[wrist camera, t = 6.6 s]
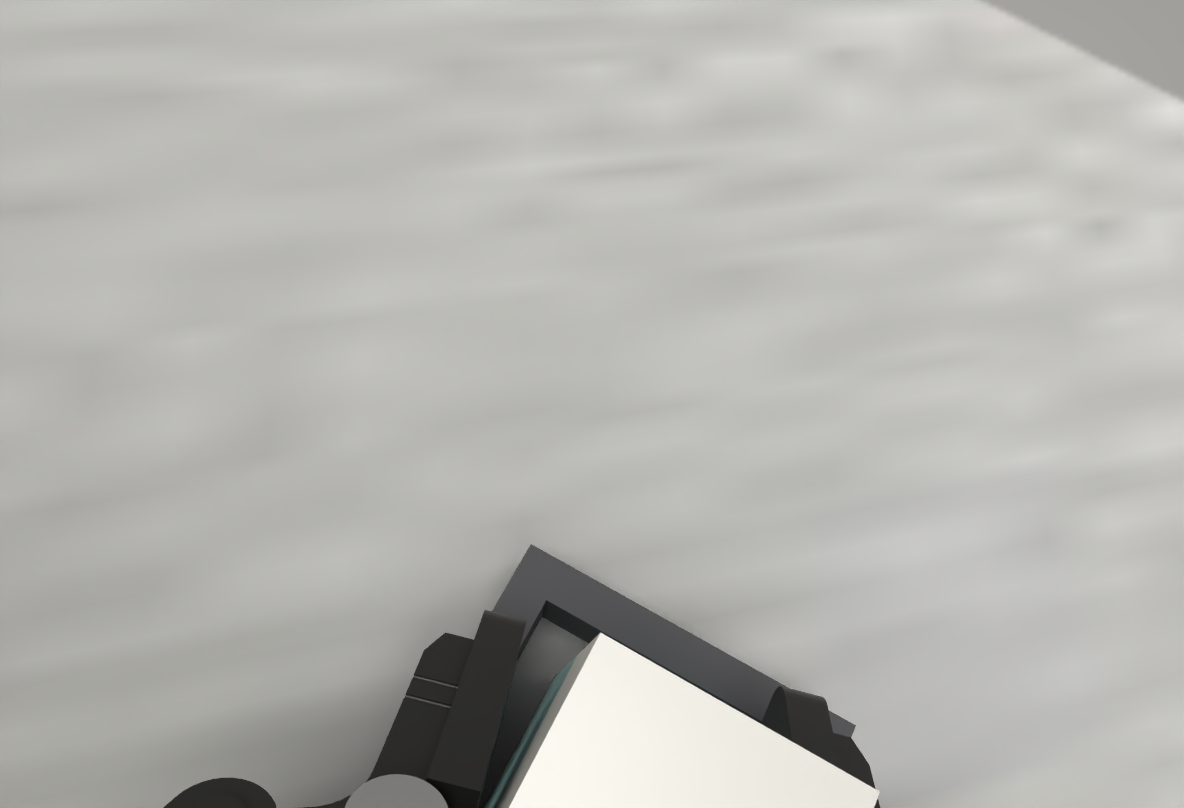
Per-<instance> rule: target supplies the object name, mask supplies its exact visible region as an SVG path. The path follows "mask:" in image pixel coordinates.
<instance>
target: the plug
mask: <svg viewBox="0 0 1184 808" xmlns="http://www.w3.org/2000/svg"><path fill="white" fill-rule="evenodd" d="M879 793H880V792H879V791H878V790H876V789H874V788H872V787H871V786H869V785H867V784H865V783H864V782H862V781H860V780H858V779H857V778H855V777H853V776H851V775H850V774H848V773H846V772H844V771H843V770H841V769H839V768H837V767H836V766H834V765H832V764H830V763H829V762H827V761H825V760H823V759H822V758H820V757H818V756H816V755H815V754H813V753H811V752H809V751H808V750H806V749H804V748H802V747H800V746H799V745H797V744H795V743H793V742H792V741H790V740H788V739H786V738H785V737H783V736H781V735H779V734H778V733H776V732H774V731H772V730H771V729H769V728H767V727H765V726H764V725H762V724H760V723H758V722H757V721H755V720H753V719H751V718H750V717H748V716H746V715H744V714H743V713H741V712H739V711H737V710H736V709H734V708H732V707H730V706H729V705H727V704H725V703H723V702H722V701H720V700H718V699H716V698H715V697H713V696H711V695H709V694H708V693H706V692H704V691H702V690H701V689H699V688H697V687H695V686H694V685H692V684H690V683H688V682H686V681H685V680H683V679H681V678H679V677H678V676H676V675H674V674H672V673H671V672H669V671H667V670H665V669H664V668H662V667H660V666H658V665H657V664H655V663H653V662H651V661H650V660H648V659H646V658H644V657H643V656H641V655H639V654H637V653H636V652H634V651H632V650H630V649H629V648H627V647H625V646H623V645H622V644H620V643H618V642H616V641H615V640H613V639H611V638H609V637H608V636H606V635H604V634H602V633H599V634H598V635H597V636H596V637H595V638H594V639H593V640H592V641H591V642H590V643H589V644H588V645H587V646H586V647H585V648H584V649H583V650H582V651H581V652H580V653H579V654H578V655H577V656H576V657H575V658H574V659H573V660H572V661H571V662H570V663H568V664H567V665H566V666H565V667H564V668H563V669H562V670H561V671H560V672H559V673H558V674H557V675H556V676H555V677H554V678H553V680H552V682H551V684H550V686H549V687H548V689H547V691H546V693H545V695H544V697H543V699H542V701H541V702H540V704H539V706H538V708H537V710H536V712H535V714H534V716H533V717H532V719H531V721H530V723H529V725H528V727H527V729H526V731H525V732H524V734H523V736H522V738H521V740H520V742H519V744H518V746H517V747H516V749H515V751H514V753H513V755H512V757H511V759H510V761H509V762H508V764H507V766H506V768H505V770H504V772H503V774H502V776H501V777H500V779H499V781H498V783H497V785H496V787H495V789H494V791H493V792H492V794H491V796H490V798H489V800H488V802H487V804H486V806H485V807H484V808H874V806H875V804H876V801H877V798H878V796H879Z"/></svg>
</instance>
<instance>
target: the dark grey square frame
mask: <svg viewBox="0 0 1184 808" xmlns="http://www.w3.org/2000/svg"><path fill="white" fill-rule="evenodd" d="M492 612H496V613H499V614H503V615H507V616H511V617H515V618H519V619H523V620H527V622H526V626H525V630H524V634H523V638H522V642H521V646H520V650H519V654H518V658H517V661H518V659H519V657H520V656H521V654H522V652H523V650H524V648H525V646H526V645H527V643H528V641H529V639H530V637H531V636H532V634H533V632H534V630H535V628H536V626H537V625H538V623H539V621H540V619H541V617H544V618H546V619H548V620H549V621H551V622H553V623H555V624H556V625H558V626H560V627H562V628H563V629H565V630H567V631H569V632H570V633H572V634H574V635H576V636H578V637H579V638H581V639H583V640H585V641H586V642H588V643H590V642H591V641H592V640H593V639H594V638H595V637H596V636H597V635H598V634H599V633H602V634H604V635H606V636H608V637H609V638H611V639H613V640H615V641H616V642H618V643H620V644H622V645H623V646H625V647H627V648H629V649H630V650H632V651H634V652H636V653H637V654H639V655H641V656H643V657H644V658H646V659H648V660H650V661H651V662H653V663H655V664H657V665H658V666H660V667H662V668H664V669H665V670H667V671H669V672H671V673H672V674H674V675H676V676H678V677H679V678H681V679H683V680H685V681H686V682H688V683H690V684H692V685H694V686H695V687H697V688H699V689H701V690H702V691H704V692H706V693H708V694H709V695H711V696H713V697H715V698H716V699H718V700H720V701H722V702H723V703H725V704H727V705H729V706H730V707H732V708H734V709H736V710H737V711H739V712H741V713H743V714H744V715H746V716H748V717H750V718H751V719H753V720H755V721H757V722H758V723H760V724H761V722H762V720H763V717H764V715H765V712H766V710H767V707H768V705H769V703H770V700H771V698H772V696H773V693H774V692H775V690H776V689H777V688H778V687H779V686H781V687H785V688H788V687H786V686H784V685H782V684H780V683H779V682H777V681H775V680H773V679H771V678H770V677H768V676H766V675H764V674H762V673H761V672H759V671H757V670H755V669H754V668H752V667H750V666H748V665H746V664H745V663H743V662H741V661H739V660H737V659H736V658H734V657H732V656H730V655H728V654H727V653H725V652H723V651H721V650H719V649H718V648H716V647H714V646H712V645H711V644H709V643H707V642H705V641H703V640H702V639H700V638H698V637H696V636H694V635H693V634H691V633H689V632H687V631H685V630H684V629H682V628H680V627H678V626H676V625H675V624H673V623H671V622H669V621H668V620H666V619H664V618H662V617H660V616H659V615H657V614H655V613H653V612H651V611H650V610H648V609H646V608H644V607H642V606H641V605H639V604H637V603H635V602H633V601H632V600H630V599H628V598H626V597H625V596H623V595H621V594H619V593H617V592H616V591H614V590H612V589H610V588H608V587H607V586H605V585H603V584H601V583H599V582H598V581H596V580H594V579H592V578H590V577H589V576H587V575H585V574H583V573H582V572H580V571H578V570H576V569H574V568H573V567H571V566H569V565H567V564H565V563H564V562H562V561H560V560H558V559H556V558H555V557H553V556H551V555H549V554H547V553H546V552H544V551H542V550H540V549H539V548H537V547H535V546H533V545H530V547H529V549H528V550H527V552H526V554H525V556H524V557H523V559H522V561H521V563H520V564H519V566H518V568H517V569H516V571H515V573H514V575H513V576H512V578H511V580H510V582H509V583H508V585H507V587H506V589H505V590H504V592H503V594H502V596H501V597H500V599H499V601H498V603H497V604H496V606H495V608H494V610H493V611H492ZM516 663H517V662H516ZM828 711H829V710H828ZM829 716H830V720H831V725H832V730H833V733H836V734H840V735H844V736H847V737H851V736H852V734H853V731H854V729H855V726H856V725H854V724H852V723H850V722H848V721H847V720H845V719H843V718H841V717H840V716H838V715H836V714H834V713H832V712H831V711H829Z"/></svg>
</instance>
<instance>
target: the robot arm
mask: <svg viewBox="0 0 1184 808" xmlns="http://www.w3.org/2000/svg"><path fill="white" fill-rule="evenodd" d="M526 622H527V620H523V619H519V618H515V617H511V616H507V615H503V614H499V613H496V612H492V611H488V610H485V611H484V614H483V616H482V619H481V622H480V625H479V628H478V631H477V634H476V637H475V639H474V640H472V639H468V638H464V637H460V636H457V635H453V634H449V633H445V634H443V635H442V636H441V637H440V638H439V639H437V640H436V641H435V642H434V643H432V644H431V645H430V646H429V647H428V648H426V649H425V650H424V652H423V655H422V657H421V659H420V662H419V664H418V666H417V669H416V671H415V673H414V677H413V679H412V681H411V683H410V685H409V688H408V690H407V692H406V696H405V698H404V699H403V702H402V704H401V707H400V709H399V711H398V714H397V716H396V718H395V721H394V723H393V725H392V728H391V730H390V732H389V735H388V737H387V740H386V742H385V744H384V747H383V749H382V751H381V754H380V756H379V758H378V761H377V763H376V766H375V768H374V770H373V772H372V774H371V776H370V777H369V779H368V780H367V781H366V782H365V783H364V784H363V785H361V786H360V787H359V788H358V789H357V790H356V791H355V792H354V793H353V794H351V795H350V796H348V797H346V798H344V799H342V800H340V801H337V802H335V803H332V804H328V805H324V806H317V807H305V808H478V807H479V803H480V799H481V795H482V792H483V788H484V784H485V780H486V777H487V773H488V769H489V765H490V762H491V758H492V754H493V750H494V747H495V743H496V739H497V735H498V732H499V728H500V724H501V720H502V717H503V713H504V709H505V705H506V701H507V697H508V693H509V689H510V685H511V682H512V678H513V674H514V670H515V666H516V662H517V658H518V654H519V650H520V646H521V642H522V638H523V634H524V630H525V626H526ZM761 724H762V725H764V726H765V727H767V728H769V729H771V730H772V731H774V732H776V733H778V734H779V735H781V736H783V737H785V738H786V739H788V740H790V741H792V742H793V743H795V744H797V745H799V746H800V747H802V748H804V749H806V750H808V751H809V752H811V753H813V754H815V755H816V756H818V757H820V758H822V759H823V760H825V761H827V762H829V763H830V764H832V765H834V766H836V767H837V768H839V769H841V770H843V771H844V772H846V773H848V774H850V775H851V776H853V777H855V778H857V779H858V780H860V781H862V782H864V783H865V784H867V785H869V786H871V787H872V788H874V789H875V786H874V782H873V778H872V774H871V770H870V766H869V764H868V762H867V761H866V759H865V758H864V756H863V755H862V753H861V752H860V750H859V749H858V747H857V746H856V745H855V743H854V742H853V740H852V739H851V737H847V736H844V735H840V734H836V733H833V730H832V725H831V720H830V716H829V711H828V706H827V703H826V700H825V699H824V698H823V697H820V696H816V695H812V694H809V693H805V692H801V691H797V690H793V689H789V688H785V687H781V686H779V687H778V688H777V689H776V690H775V692H774V693H773V696H772V698H771V700H770V703H769V705H768V707H767V710H766V712H765V715H764V717H763V720H762V722H761ZM164 808H276V805H275V802H274V801H273V799H272V797H271V796H270V795H269V794H268V793H267V791H266V790H264V789H263V788H261V787H260V786H259V785H257V784H255V783H252V782H250V781H247V780H243V779H237V778H218V779H212V780H208V781H204V782H201V783H199V784H196V785H194V786H192V787H190V788H188V789H186V790H185V791H183V792H182V793H180V794H179V795H178V796H176V797H175V798H174V799H173V800H172V801H171V802H169V803H168V804H167V805H166V806H165V807H164ZM874 808H880V805H879V801H878V799H877V801H876V804H875V806H874Z"/></svg>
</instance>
